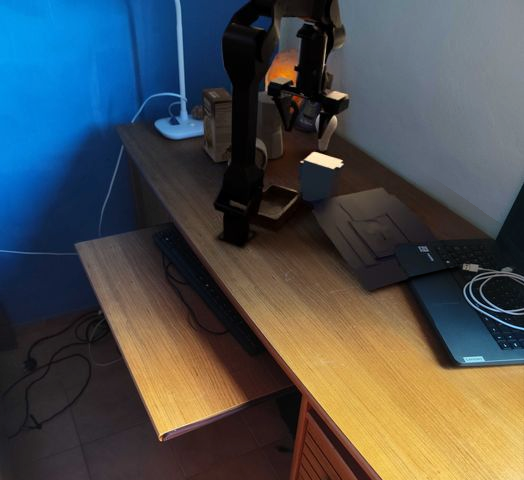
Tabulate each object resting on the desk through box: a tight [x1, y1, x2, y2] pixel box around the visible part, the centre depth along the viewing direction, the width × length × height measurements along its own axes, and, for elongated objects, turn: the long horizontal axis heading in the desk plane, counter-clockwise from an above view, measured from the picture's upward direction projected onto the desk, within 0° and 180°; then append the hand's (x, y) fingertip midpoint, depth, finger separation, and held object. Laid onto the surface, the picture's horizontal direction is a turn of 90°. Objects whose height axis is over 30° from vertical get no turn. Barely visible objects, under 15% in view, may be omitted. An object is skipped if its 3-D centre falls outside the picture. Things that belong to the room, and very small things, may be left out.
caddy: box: [246, 182, 303, 232], centre depth 113 cm, size 15×9×3 cm, turn 152°
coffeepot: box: [256, 90, 301, 160], centre depth 129 cm, size 15×9×18 cm, turn 60°
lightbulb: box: [314, 114, 338, 152], centre depth 134 cm, size 6×6×11 cm
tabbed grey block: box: [297, 151, 345, 203], centre depth 115 cm, size 6×11×10 cm, turn 59°
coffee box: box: [201, 87, 232, 163], centre depth 127 cm, size 9×6×16 cm
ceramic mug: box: [227, 138, 268, 171], centre depth 125 cm, size 11×8×8 cm
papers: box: [309, 187, 440, 292], centre depth 106 cm, size 24×30×4 cm
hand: (303, 133), depth 112 cm, fingers open, 9 cm apart
